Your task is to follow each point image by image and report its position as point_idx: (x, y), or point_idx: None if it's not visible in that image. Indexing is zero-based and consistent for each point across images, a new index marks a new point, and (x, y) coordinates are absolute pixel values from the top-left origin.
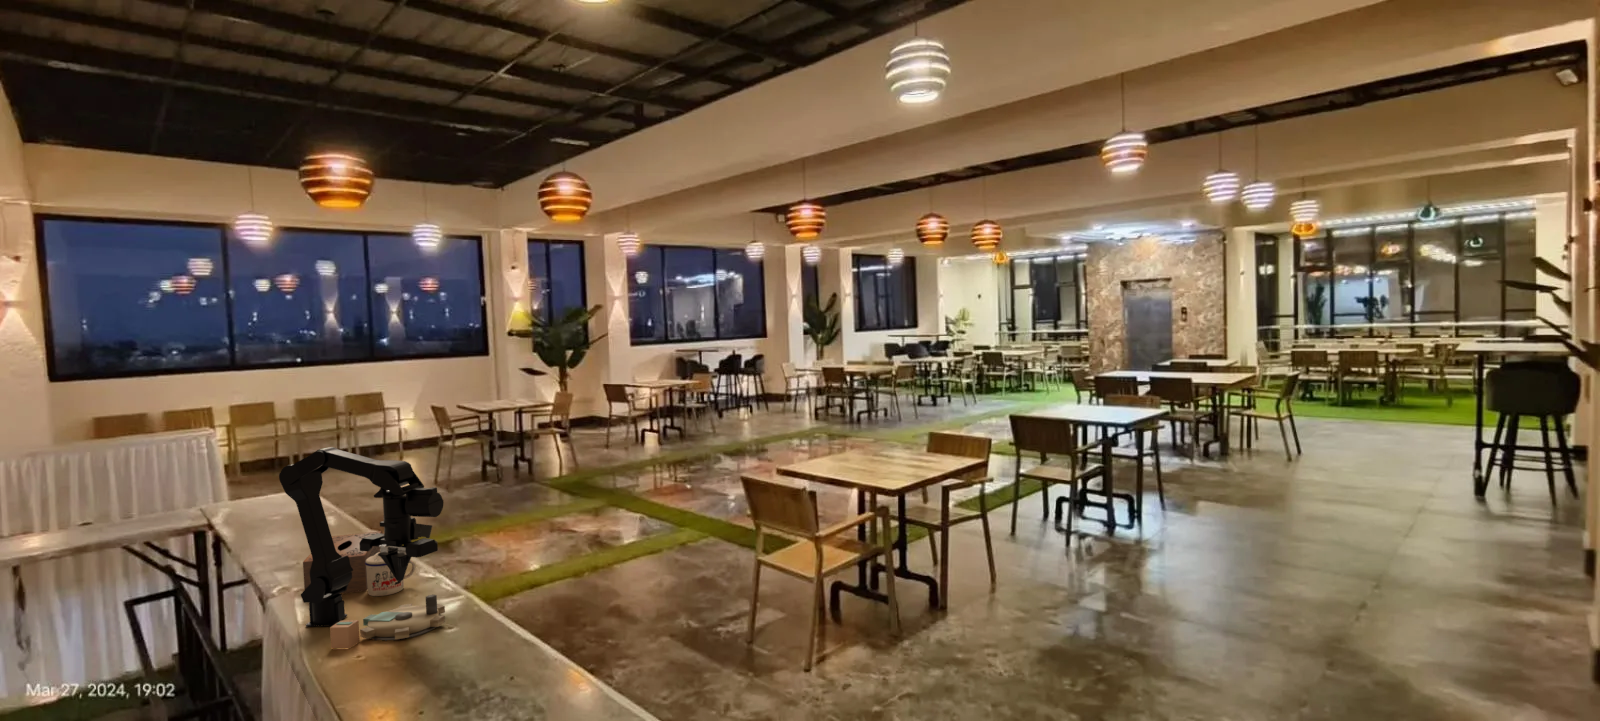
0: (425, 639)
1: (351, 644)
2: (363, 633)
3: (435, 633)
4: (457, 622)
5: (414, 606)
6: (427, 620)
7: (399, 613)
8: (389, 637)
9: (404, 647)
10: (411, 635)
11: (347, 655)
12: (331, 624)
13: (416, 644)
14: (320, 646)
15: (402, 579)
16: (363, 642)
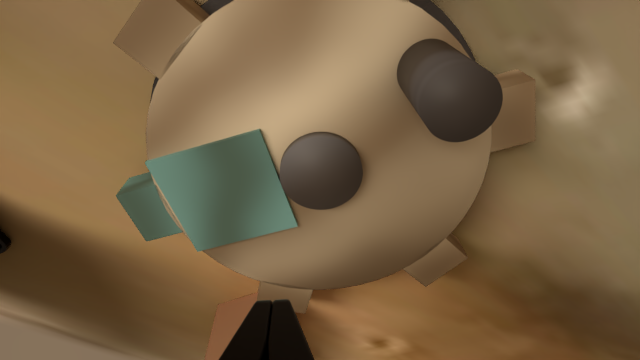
0: (515, 205)
1: None
2: None
3: (521, 151)
4: (558, 8)
5: (226, 23)
6: (479, 159)
7: (280, 169)
8: None
9: (480, 270)
10: None
11: (338, 348)
12: (6, 247)
13: (508, 244)
14: (188, 339)
15: (290, 308)
16: None
